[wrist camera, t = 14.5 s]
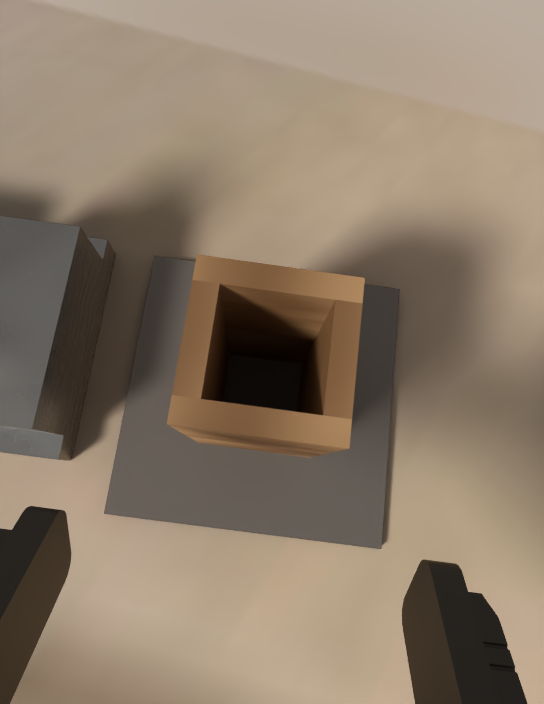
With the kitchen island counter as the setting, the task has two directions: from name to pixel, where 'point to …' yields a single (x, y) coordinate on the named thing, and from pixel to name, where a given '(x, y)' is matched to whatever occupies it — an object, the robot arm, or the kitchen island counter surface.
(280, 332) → the sleeve
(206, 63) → the kitchen island counter surface
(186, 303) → the mat
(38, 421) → the vise
